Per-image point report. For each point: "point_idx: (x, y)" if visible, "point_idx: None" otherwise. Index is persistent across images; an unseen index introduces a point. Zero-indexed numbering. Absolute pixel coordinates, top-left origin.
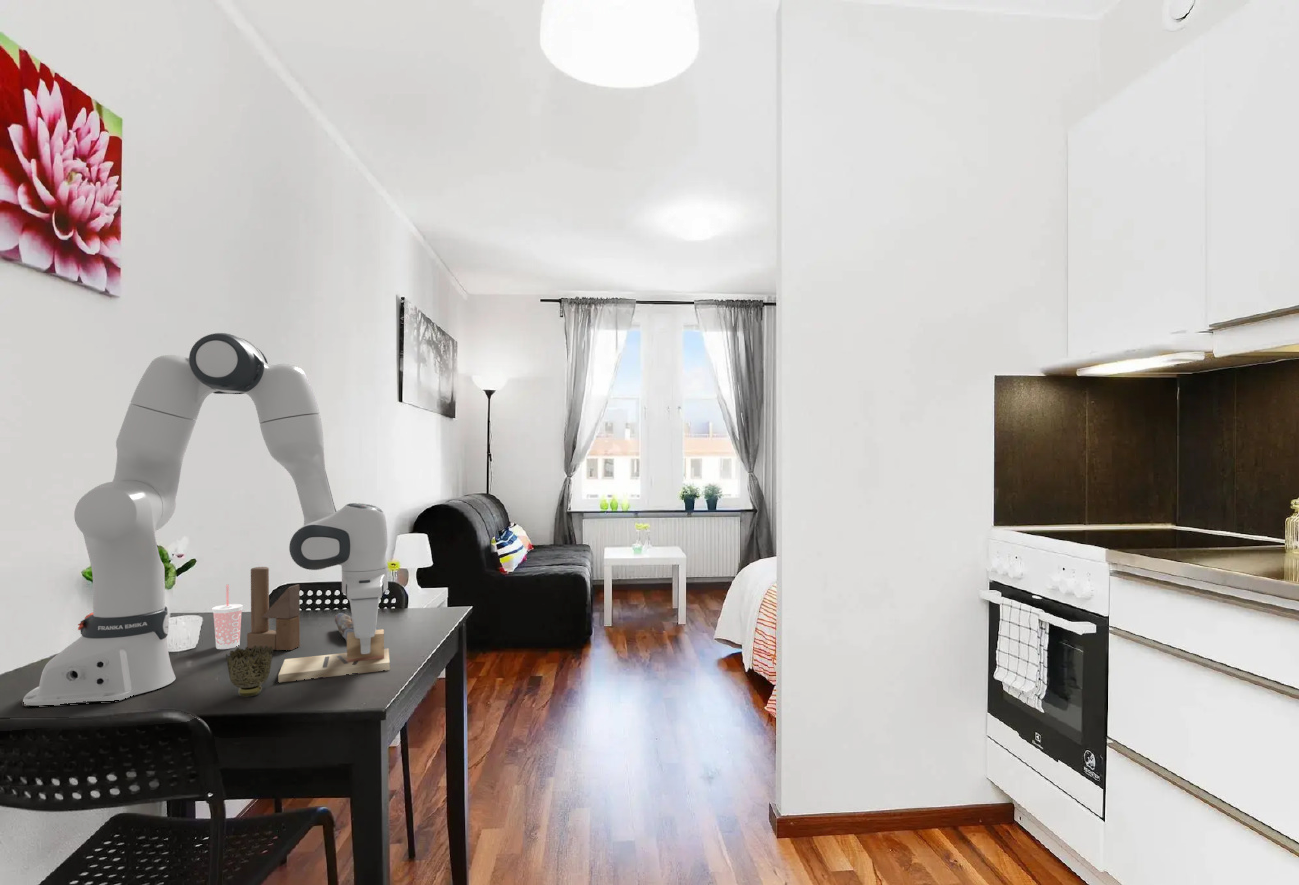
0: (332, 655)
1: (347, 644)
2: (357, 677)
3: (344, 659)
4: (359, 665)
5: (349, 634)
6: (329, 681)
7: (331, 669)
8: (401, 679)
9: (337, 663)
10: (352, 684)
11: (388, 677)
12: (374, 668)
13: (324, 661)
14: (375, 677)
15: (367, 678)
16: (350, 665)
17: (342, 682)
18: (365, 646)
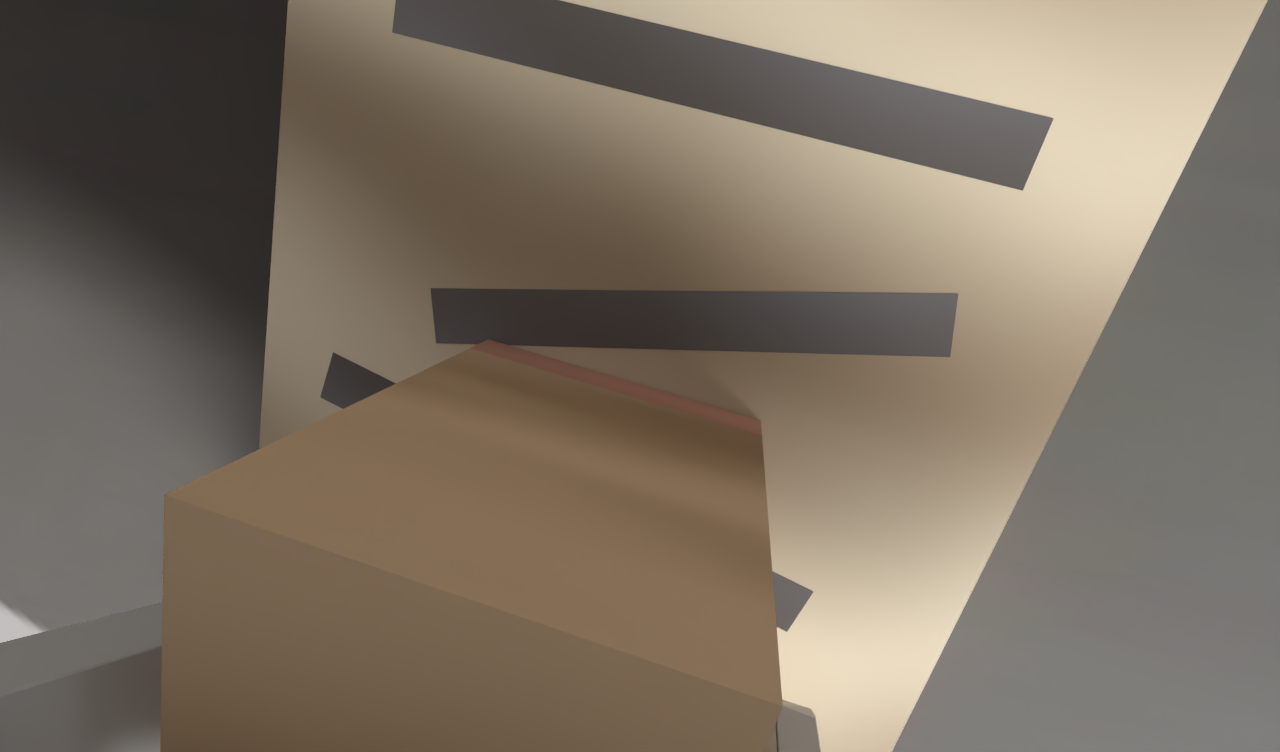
0: (1042, 250)
1: (323, 431)
2: (205, 336)
3: (655, 346)
4: (274, 421)
5: (485, 663)
6: (186, 41)
7: (292, 81)
8: (16, 601)
9: (506, 212)
10: (11, 235)
11: (100, 548)
12: None
13: (737, 52)
14: (140, 467)
15: (138, 402)
16: (318, 334)
17: (102, 164)
18: None
